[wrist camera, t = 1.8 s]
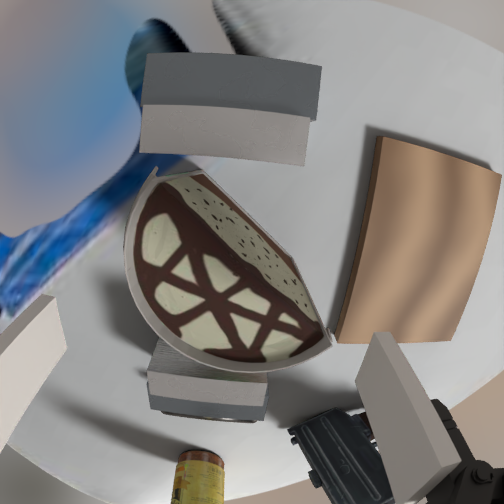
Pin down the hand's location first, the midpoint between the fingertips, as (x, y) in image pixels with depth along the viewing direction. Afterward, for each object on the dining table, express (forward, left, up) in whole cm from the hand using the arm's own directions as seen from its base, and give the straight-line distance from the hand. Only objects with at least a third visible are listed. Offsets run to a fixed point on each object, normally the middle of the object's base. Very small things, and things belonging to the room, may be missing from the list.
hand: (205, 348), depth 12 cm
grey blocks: (0, -2, -12) cm, 12 cm away
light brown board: (+17, +1, -12) cm, 21 cm away
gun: (+16, -18, -13) cm, 27 cm away
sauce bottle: (-1, -30, -13) cm, 33 cm away
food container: (0, 0, -13) cm, 13 cm away
